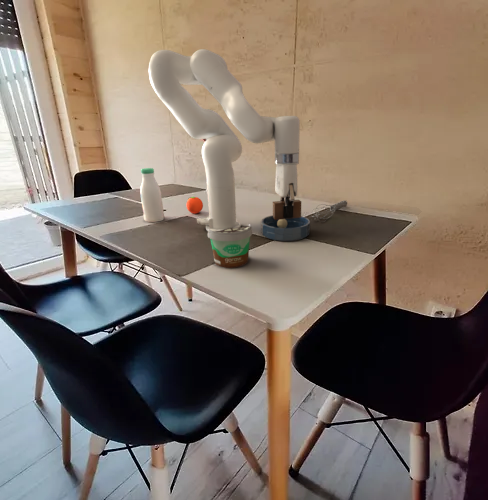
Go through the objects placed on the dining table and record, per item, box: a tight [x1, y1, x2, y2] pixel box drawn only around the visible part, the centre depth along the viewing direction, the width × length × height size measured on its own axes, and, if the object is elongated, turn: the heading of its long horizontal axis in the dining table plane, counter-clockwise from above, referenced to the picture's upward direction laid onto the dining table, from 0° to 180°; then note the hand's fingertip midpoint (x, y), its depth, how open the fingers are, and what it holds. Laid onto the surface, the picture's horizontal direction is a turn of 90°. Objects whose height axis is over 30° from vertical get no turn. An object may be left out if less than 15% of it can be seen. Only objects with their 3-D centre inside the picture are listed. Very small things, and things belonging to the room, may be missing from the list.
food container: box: [207, 223, 254, 269], centre depth 82 cm, size 12×6×10 cm, turn 114°
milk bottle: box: [139, 167, 165, 223], centre depth 121 cm, size 8×8×20 cm
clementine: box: [186, 196, 204, 214], centre depth 132 cm, size 8×7×7 cm
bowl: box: [260, 214, 311, 242], centre depth 105 cm, size 16×16×4 cm
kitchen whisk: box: [311, 199, 348, 223], centre depth 126 cm, size 6×34×6 cm, turn 146°
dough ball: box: [277, 219, 287, 228], centre depth 109 cm, size 4×4×4 cm
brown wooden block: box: [272, 199, 302, 220], centre depth 103 cm, size 9×3×6 cm, turn 101°
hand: (286, 215), depth 104 cm, fingers closed on brown wooden block, 2 cm apart
